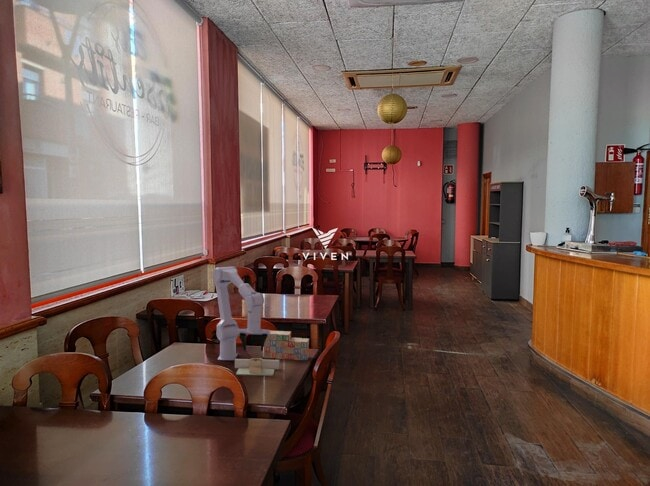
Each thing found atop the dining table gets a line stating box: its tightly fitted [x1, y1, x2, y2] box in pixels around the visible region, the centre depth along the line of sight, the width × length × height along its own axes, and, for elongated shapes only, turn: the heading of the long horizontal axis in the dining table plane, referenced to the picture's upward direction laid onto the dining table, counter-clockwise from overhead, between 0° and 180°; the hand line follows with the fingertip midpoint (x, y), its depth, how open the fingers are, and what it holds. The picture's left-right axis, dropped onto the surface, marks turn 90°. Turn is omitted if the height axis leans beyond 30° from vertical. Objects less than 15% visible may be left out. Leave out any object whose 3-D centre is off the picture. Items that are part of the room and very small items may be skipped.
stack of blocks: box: [263, 330, 310, 361], centre depth 217 cm, size 21×6×12 cm, turn 83°
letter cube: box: [249, 357, 263, 373], centre depth 195 cm, size 5×5×5 cm
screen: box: [234, 358, 280, 370], centre depth 200 cm, size 1×20×4 cm, turn 91°
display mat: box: [235, 368, 275, 377], centre depth 195 cm, size 7×16×1 cm, turn 91°
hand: (253, 350), depth 199 cm, fingers open, 7 cm apart
